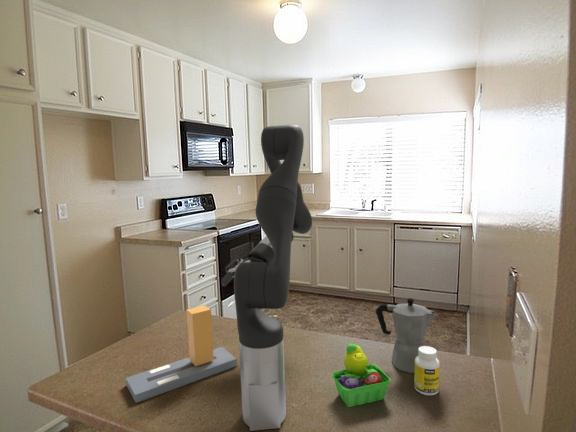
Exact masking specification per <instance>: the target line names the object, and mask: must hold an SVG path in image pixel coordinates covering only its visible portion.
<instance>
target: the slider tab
mask: <svg viewBox="0 0 576 432" xmlns="http://www.w3.org/2000/svg"><path fill="white" fill-rule="evenodd" d="M186 320H187V322H186V323H187V335H188V336H187V337H188V351H189V352H188V353H189V355H188V356H189V357H190V361H191V362H192V363H193V364H194V365H195V366H199V365H201V364H204V363H207V362H210V361H213V360H214V358H213V349H214V345H213V344H214V343H213V342H214V341H213V324H212V309H211V308H209V306H206V305H200V306H196V307H192V308H189V309H188V308H187V309H186Z"/></svg>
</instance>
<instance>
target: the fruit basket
mask: <svg viewBox="0 0 576 432" xmlns="http://www.w3.org/2000/svg"><path fill="white" fill-rule="evenodd" d="M343 362H344V367H345V369H342V370H337V371H334V372H332V373H331V375H332V378H333V380H334V383H335V386H336V390H337V393H338V396H339V397H340V398H341V400H342V401H343V403H344V404H345V405H346V407H347V408H352V407H355V406H360V405H365V404H370V403H374V402H376V401H383V400H385V396H386V393H387V390H388V386H389V385H390V383H391V378H390V377H389V376H388V375H387V374H386V373H385V372H384V370H382V369H381V368H380V367H379V366H378V365H377V364H373V363H372V364H369V360H368V357H367V355H366V353H364V352H363V350H362V348H361V347H360V346H359V345H357V344H355V343H354V342H353V343H349V344H348V345H347V346H346V353H345V357H344V361H343Z"/></svg>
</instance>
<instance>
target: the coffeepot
mask: <svg viewBox="0 0 576 432" xmlns="http://www.w3.org/2000/svg"><path fill="white" fill-rule="evenodd" d="M406 301H407V303H397V304H396V305H395V304H386V303H385V304H384V303H381V304H379V306H378V307H377V308H376V309H375V314H376V316H377V319H378V322H379V325H380V328H381V331H382V333H383V334H384V335H391V334H392V331H390V330H388V329H387V324H386V322H385V316H384V313H383V312H387V313H390V314H392V319H393V324H394V332H395V334H396V338H395V341H394V345H393V346H394V347H393V350H392V355H391V363H392V365H393V366H394V367H395V368H396V369H398V370H399V371H401V372H405V373H410V374H415V358H416V357H417V356H418V349H419V347H421V346H426V344H425V343H426V342H425V341H424V337H425V336H426V334H427V329H428V326H429V325H430V324H431V322H432V321H433V319H434V318H435V317H438V316H439V315H438V312H436V311H434V310H431V309H428V308H427V307H426V306H424V305H419V304H415V303H414V298H412V297H407V298H406Z"/></svg>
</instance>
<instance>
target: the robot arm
mask: <svg viewBox="0 0 576 432" xmlns="http://www.w3.org/2000/svg"><path fill="white" fill-rule="evenodd" d="M304 142H305V139H304V132H303V130H302V127H300V125H297V124H279V125H268V126H265V127H264V128H263V129H262V131H261V135H260V145H261V149H262V154H263V157H264V160H265V162H266V165H267V167H268V170H269V172H270V175H269V176H268V177H267V178H266V179H265V181H264V182H263V183H262V185H260V188H259V191H258V194H257V201H256V204H255V205H256V207H255V217H256V219H257V222H258V224H259V227H261V229H262V231H263V233H264V234H265V235H266V236H265V237H263V238H262V239H261V240H260V241H259V243H257V245H255V247H254V248H253V249H252V250H251V251H250V252H249V254H248V256H247V258H245V259H242V258H241V256H240V255H237V256H236V257H234V258H233V259H232V260H231V261H230V262H229V263H228V264H227V265H226V266H225V267H224V268H225V272H226V274H225V275H224V276H223V277H222V278H221V281H220V283H221V286H222V287H227V285H228V284H230V282H231V281H232V280H233V293H234V294H233V295H234V304H235V314H236V326H237V332H238V333H237V334H238V340H239V341H238V344H239V347H238V348H239V369H240V371H239V372H240V387H241V388H240V389H241V391H240V392H241V407H242V409H241V410H242V420H243V422H244V423H245V425H247V426H248V427H249V431H263V430H264V431H265V430H273V429H275V430H276V429H280V428H281V427H282V426H281V424H282V423H283V422H284V421H285V419H286V416H287V405H286V403H287V402H286V401H287V400H286V379H285V378H286V377H285V374H286V373H285V347H284V346H285V345H284V344H285V342H284V340H285V339H284V336H285V335H284V326H283V324H282V323H281V322H280V321H279V320H278V319H277V318H274V317H273V316H270V315H267V314H266V313H264V312H262V311H261V310H260V309H266V310H268V309H269V310H271V309H273V310H276V309H277V310H279V309H283V308H284V307H285V306H286V304H287V302H288V299H289V293H290V279H291V256H292V255H291V254H292V253H291V251H292V250H291V249H292V242H293V240H294V238H295V236H294V233H293V232H295V233H298V234H301V235H305V234H307V233H308V232H310V230H311V229H312V226H313V218H312V217H313V216H312V214H311V212H310V210H309V208H308V206H307V205H306V203H305V202H304V201H305V200H304V196H303V190H302V186H301V184H300V182H299V181H298V180H299V173H300V168H301V163H302V157H303V152H304V151H303V150H304V146H305V143H304ZM281 161H282V162H281Z"/></svg>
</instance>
